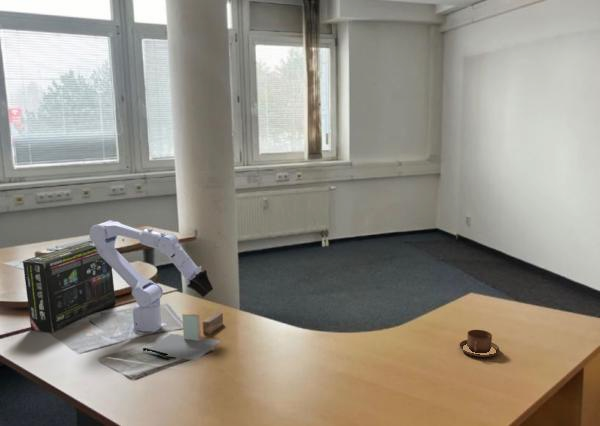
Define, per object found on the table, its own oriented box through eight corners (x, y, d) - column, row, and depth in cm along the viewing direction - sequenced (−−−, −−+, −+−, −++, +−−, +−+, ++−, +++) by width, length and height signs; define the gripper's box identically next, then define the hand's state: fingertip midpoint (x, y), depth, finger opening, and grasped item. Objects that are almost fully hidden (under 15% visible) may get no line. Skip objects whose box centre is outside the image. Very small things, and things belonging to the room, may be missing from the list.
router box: (95, 300, 227) (90, 239, 223) (116, 302, 223) (112, 241, 219) (27, 330, 194) (20, 260, 189) (51, 334, 190) (43, 262, 186)
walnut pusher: (203, 335, 187) (202, 321, 186) (217, 325, 196) (216, 312, 195) (209, 336, 186) (208, 322, 185) (223, 325, 195) (222, 313, 194)
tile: (183, 339, 182) (182, 314, 180) (185, 337, 183) (184, 313, 181) (198, 341, 180) (197, 316, 178) (200, 339, 181) (199, 314, 179)
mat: (143, 353, 172) (142, 352, 172) (170, 335, 187) (170, 334, 186) (196, 361, 165) (196, 360, 165) (221, 342, 180) (221, 340, 180)
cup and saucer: (502, 361, 161) (502, 342, 160) (461, 359, 164) (461, 340, 163) (495, 345, 173) (496, 328, 172) (457, 343, 175) (458, 325, 174)
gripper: (197, 251, 183) (221, 281, 182) (188, 261, 195) (211, 290, 195) (181, 263, 179) (206, 294, 179) (173, 273, 191) (197, 302, 191)
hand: (208, 293), depth 187 cm, fingers open, 7 cm apart
